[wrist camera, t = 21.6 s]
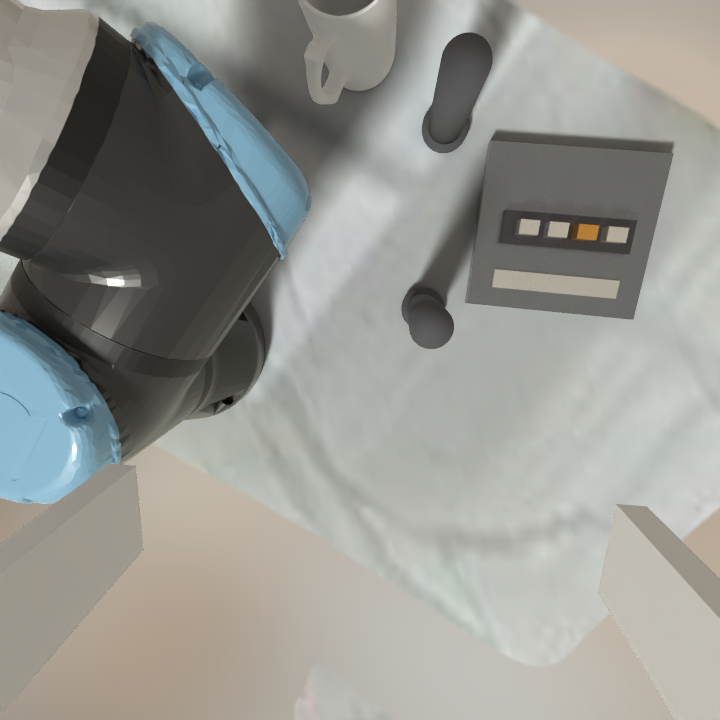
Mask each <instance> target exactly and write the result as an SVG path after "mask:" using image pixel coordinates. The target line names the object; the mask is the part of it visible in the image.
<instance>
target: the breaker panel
mask: <svg viewBox="0 0 720 720" xmlns="http://www.w3.org/2000/svg"><path fill="white" fill-rule="evenodd" d="M672 157H673V153H661V152H647V151H633V150H619V149H606V148H592V147H578V146H564V145H550V144H536V143H522V142H508V141H494V140H491V141H490V143H489V144H488V151H487V158H486V164H485V171H484V178H483V185H482V191H481V198H480V205H479V212H478V218H477V225H476V232H475V239H474V245H473V252H472V259H471V266H470V272H469V279H468V286H467V293H466V299H465V302H466V303H471V304H481V305H491V306H501V307H512V308H522V309H532V310H542V311H552V312H562V313H572V314H582V315H592V316H602V317H612V318H622V319H632V320H633V318H634V314H635V310H636V306H637V302H638V297H639V293H640V289H641V285H642V281H643V277H644V273H645V269H646V264H647V260H648V256H649V252H650V248H651V244H652V240H653V236H654V231H655V227H656V223H657V219H658V215H659V211H660V207H661V203H662V198H663V194H664V190H665V186H666V182H667V178H668V174H669V170H670V165H671V161H672Z"/></svg>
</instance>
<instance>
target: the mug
mask: <svg viewBox="0 0 720 720" xmlns="http://www.w3.org/2000/svg"><path fill="white" fill-rule="evenodd" d="M298 2H299V5H300V7H301V9H302V12H303V14H304V16H305V19H306V21H307V23H308V26H309V28H310V30H311V32H312V35H313V39H312V41H310V42H309V44H308V46H307V48H306V51H305V53H304V59H305V62H306V76H307V85H308V90H309V94H310V96H311V98H312V100H313V101H314V102H316V103H318V104H321V105H326V104H335V103H336V102H337V101H338V99H339V96H340V94H341V91H342V89H343V87H344V88H346V89H349V90H353V91H364V90H368V89H371V88H373V87H375V86H376V85H378V84H379V83H380V82H382V81H383V80H384V78H385V77H386V76H387V74H388V73H389V71H390V69H391V67H392V65H393V62H394V58H395V50H396V21H397V0H298ZM323 63H325V65H326V67H327V69H328V71H329V76H328V79H327V81H326V83H325V85H324V86H323V87H322V86H321V74H322V68H323Z"/></svg>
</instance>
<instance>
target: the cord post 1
mask: <svg viewBox="0 0 720 720" xmlns="http://www.w3.org/2000/svg"><path fill="white" fill-rule="evenodd" d="M402 315H403V318H404V320H405V321H406V322H407V323H408V324H409V330H410V334H411V337H412V339H413V340H414V341H415V342H416V343H417V344H418V345H419V346H421V347H423V348H427V349H435V348H439V347H441V346H443V345H445V344H446V343H447V342H448V341H449V340H450V338H451V336H452V334H453V331H454V322H453V319H452V317H451V315H450V314H449V312H448V311H447V310H446V309H445V308H444V305H443V301H442V299H441V297H440V296H439V295H438V293H436V292H435V291H434V290H432V289H430V288H425V287H421V288H416V289H414V290H412V291H410V292H409V293H408V294H407V295H406V296H405V298H404V300H403V303H402Z"/></svg>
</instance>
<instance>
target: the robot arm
mask: <svg viewBox="0 0 720 720" xmlns="http://www.w3.org/2000/svg"><path fill="white" fill-rule="evenodd" d="M130 36H131V37H132V43H131V42H130V41H128V40H127V39H126V38H124V37H123V36H122V35H121V34H119V33H118V32H117V31H116V30H114V29H113V28H112V27H111V26H109V25H108V24H107V23H106V22H105V21H103V20H102V19H101V18H100V17H98V16H97V15H96V14H95V13H94V12H92V11H91V10H89V9H73V10H40V9H36V8H32V7H28V6H25V5H23V4H22V3H21V2H19V1H18V0H0V252H3V253H6V254H8V255H11V256H14V257H16V258H19V259H20V260H19V262H18V264H17V266H16V268H15V270H14V272H13V273H12V275H11V277H10V279H9V281H8V283H7V285H6V286H5V288H4V290H3V292H2V294H1V296H0V498H3V499H7V500H10V501H14V502H19V503H34V502H37V503H43V504H49V503H55V504H53V505H52V506H51V507H49V508H48V509H46V510H45V511H44V512H42V513H41V514H39V515H38V516H37V517H35V518H34V519H33V520H31V521H30V522H28V523H27V524H25V525H24V526H23V527H22V528H20V529H19V530H17V531H16V532H14V533H13V534H12V535H10V536H9V537H7V538H6V539H5V540H3V541H2V542H1V543H0V716H1V715H2V713H3V712H4V711H5V710H6V709H7V708H8V706H9V705H10V704H11V703H12V702H13V701H14V699H15V698H16V697H17V696H18V695H19V694H20V693H21V691H22V690H23V689H24V688H25V687H26V686H27V684H28V683H29V682H30V681H31V680H32V679H33V677H34V676H35V675H36V674H37V673H38V672H39V671H40V669H41V668H42V667H43V666H44V665H45V664H46V662H47V661H48V660H49V659H50V658H51V657H52V655H53V654H54V653H55V652H56V651H57V650H58V648H59V647H60V646H61V645H62V644H63V643H64V641H65V640H66V639H67V638H68V637H69V636H70V634H71V633H72V632H73V631H74V630H75V629H76V628H77V626H78V625H79V624H80V623H81V622H82V620H83V619H84V618H85V617H86V616H87V615H88V614H89V612H90V611H91V610H92V609H93V608H94V607H95V605H96V604H97V603H98V602H99V601H100V600H101V599H102V597H103V596H104V595H105V594H106V593H107V591H108V590H109V589H110V588H111V587H112V586H113V585H114V583H115V582H116V581H117V580H118V579H119V578H120V576H121V575H122V574H123V573H124V572H125V571H126V569H127V568H128V567H129V566H130V565H131V564H132V563H133V561H134V560H135V559H136V558H137V557H138V556H139V554H140V553H141V552H142V551H143V541H142V531H141V520H140V508H139V497H138V487H137V476H136V466H131V465H123V464H124V463H125V462H127V461H128V460H129V459H131V458H132V457H134V456H135V455H136V454H138V453H139V452H140V451H142V450H143V449H145V448H146V447H147V446H149V445H150V444H151V443H153V442H154V441H156V440H157V439H158V438H160V437H161V436H162V435H164V434H165V433H167V432H168V431H169V430H171V429H172V428H173V427H175V426H176V425H178V424H179V423H180V422H182V421H183V420H189V419H198V418H205V417H210V416H213V415H216V414H219V413H221V412H223V411H225V410H227V409H229V408H230V407H232V406H233V405H235V404H236V403H237V402H238V401H239V400H241V399H242V398H243V397H244V396H245V395H246V394H247V393H248V392H249V391H250V390H251V389H252V387H253V386H254V384H255V383H256V381H257V379H258V377H259V375H260V373H261V370H262V367H263V362H264V356H265V341H264V334H263V330H262V326H261V323H260V321H259V318H258V316H257V314H256V312H255V310H254V308H253V307H252V305H251V304H250V300H251V299H252V297H253V296H254V294H255V293H256V291H257V290H258V289H259V287H260V286H261V284H262V283H263V281H264V280H265V278H266V277H267V276H268V274H269V273H270V271H271V270H272V268H273V267H274V265H275V264H276V263H277V261H278V260H279V258H280V259H281V260H283V259H284V257H285V256H286V254H287V250H286V248H287V247H288V245H289V243H290V242H291V240H292V239H293V237H294V236H295V234H296V232H297V231H298V229H299V228H300V226H301V224H302V223H303V221H304V220H305V218H306V216H307V214H308V212H309V209H310V205H311V195H310V189H309V186H308V183H307V181H306V179H305V177H304V176H303V174H302V172H301V171H300V169H299V168H298V167H297V165H296V164H295V163H294V161H293V160H292V159H291V158H290V157H289V155H288V154H287V153H286V152H285V151H284V149H283V148H282V147H281V146H280V145H279V143H278V142H277V141H276V140H275V139H274V138H273V137H272V135H271V134H270V133H269V132H268V131H267V130H266V129H265V128H264V126H263V125H262V124H261V123H260V122H259V121H258V120H257V119H256V118H255V117H254V116H253V114H252V113H251V112H250V111H249V110H248V109H247V108H246V107H245V106H244V105H243V104H242V103H241V102H240V101H239V100H238V98H237V97H236V96H235V95H234V94H233V93H232V92H231V91H230V90H229V89H228V88H227V87H226V86H225V85H224V84H223V83H222V82H221V81H219V80H218V79H216V78H214V77H213V76H212V74H211V72H210V71H209V70H208V69H207V68H206V67H205V66H203V65H202V64H201V63H200V62H199V61H198V60H197V58H196V57H195V56H194V55H193V54H192V52H191V51H190V50H189V49H187V48H186V47H185V46H184V45H183V44H182V43H181V42H180V41H179V40H178V39H177V38H175V37H174V36H173V35H172V34H171V33H170V32H168V31H167V30H166V29H165V28H163V27H162V26H160V25H158V24H156V23H153V22H146V23H145V24H143V25H142V26H141V27H139V28H134V29H133V31H132V33H131V35H130ZM598 594H599V595H600V597H601V599H602V600H603V602H604V604H605V605H606V607H607V609H608V610H609V612H610V613H611V615H612V617H613V618H614V620H615V622H616V623H617V625H618V626H619V628H620V630H621V631H622V633H623V635H624V636H625V638H626V640H627V641H628V643H629V645H630V646H631V648H632V650H633V651H634V653H635V655H636V656H637V658H638V659H639V661H640V663H641V664H642V666H643V667H644V669H645V671H646V672H647V674H648V676H649V677H650V679H651V681H652V682H653V684H654V685H655V687H656V689H657V691H658V692H659V694H660V695H661V697H662V699H663V700H664V702H665V704H666V705H667V707H668V709H669V710H670V712H671V713H672V715H673V717H674V719H675V720H720V578H719V577H718V576H717V575H716V574H715V573H714V572H712V570H711V569H710V568H709V567H708V566H707V565H705V564H704V563H703V562H702V561H701V560H700V559H699V558H698V557H697V556H696V555H695V554H694V553H693V552H692V551H691V550H690V549H689V548H688V547H687V546H686V545H685V544H684V543H683V542H682V541H681V540H680V539H679V538H678V537H677V536H676V535H675V534H674V533H673V532H672V531H671V530H670V529H669V528H668V527H667V526H666V525H665V524H664V523H663V522H662V521H661V520H660V519H659V518H658V517H657V516H656V515H655V514H654V513H653V512H652V511H651V510H650V509H649V508H648V507H645V506H633V505H620V504H616V507H615V512H614V517H613V522H612V527H611V531H610V536H609V541H608V546H607V550H606V555H605V560H604V565H603V569H602V574H601V579H600V584H599V589H598Z"/></svg>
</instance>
